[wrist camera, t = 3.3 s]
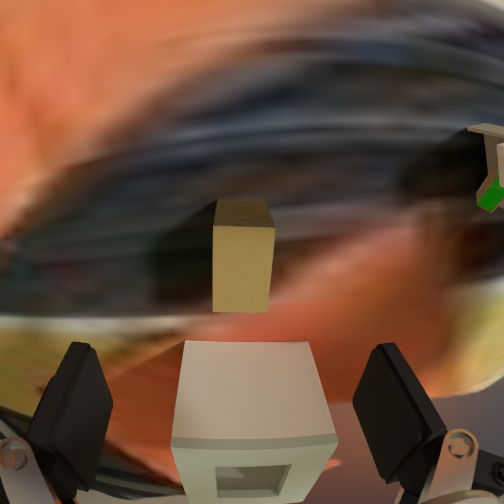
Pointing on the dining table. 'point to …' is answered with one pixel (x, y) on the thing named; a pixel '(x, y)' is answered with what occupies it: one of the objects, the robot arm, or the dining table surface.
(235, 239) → the tan wooden block
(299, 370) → the box
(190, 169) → the dining table surface
